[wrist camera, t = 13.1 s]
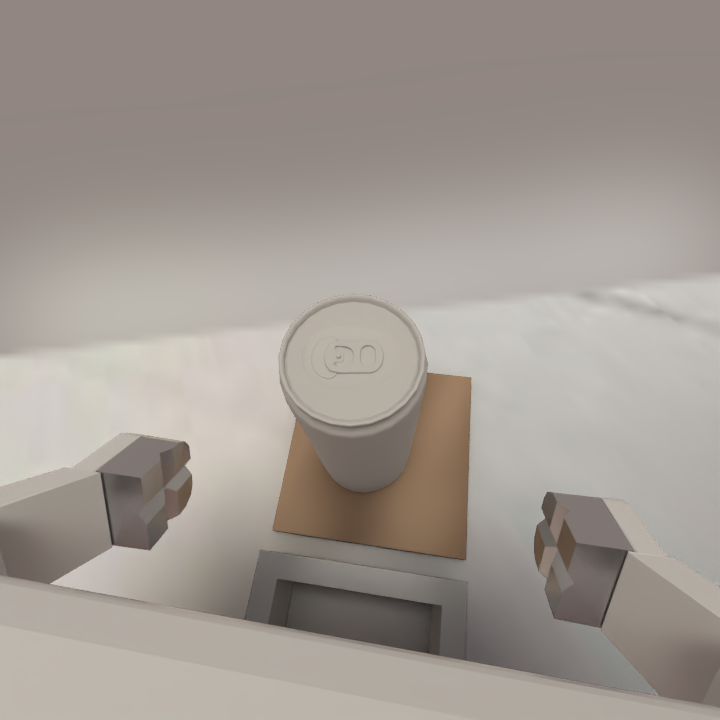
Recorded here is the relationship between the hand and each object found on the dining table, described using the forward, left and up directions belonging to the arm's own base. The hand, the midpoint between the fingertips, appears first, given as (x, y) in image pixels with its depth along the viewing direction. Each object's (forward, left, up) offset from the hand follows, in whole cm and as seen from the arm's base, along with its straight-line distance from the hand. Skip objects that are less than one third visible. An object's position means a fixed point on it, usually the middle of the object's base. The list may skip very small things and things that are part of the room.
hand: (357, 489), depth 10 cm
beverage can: (+1, -4, -14) cm, 15 cm away
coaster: (0, -4, -14) cm, 15 cm away
